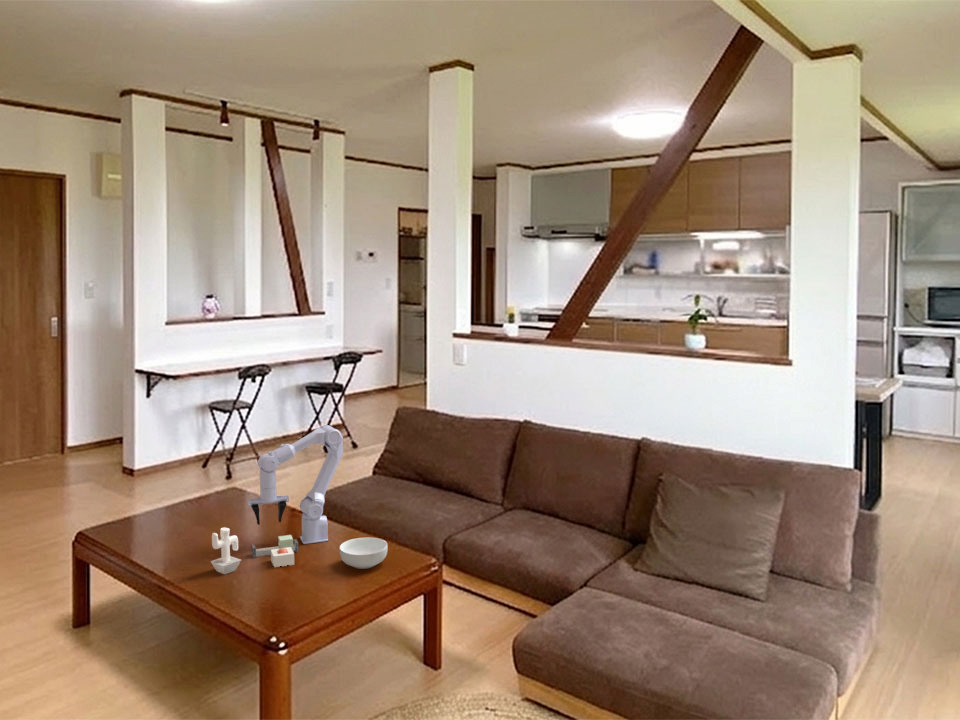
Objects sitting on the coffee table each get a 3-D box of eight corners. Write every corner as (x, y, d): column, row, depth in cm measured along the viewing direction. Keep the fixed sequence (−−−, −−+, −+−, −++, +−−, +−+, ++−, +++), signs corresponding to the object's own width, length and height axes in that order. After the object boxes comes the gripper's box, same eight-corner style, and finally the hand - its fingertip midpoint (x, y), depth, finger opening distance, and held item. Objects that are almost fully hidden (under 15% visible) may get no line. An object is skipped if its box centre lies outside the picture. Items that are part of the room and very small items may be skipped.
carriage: (291, 548, 288) (290, 534, 287) (293, 552, 283) (293, 538, 283) (278, 549, 286) (278, 536, 285) (280, 554, 281) (280, 540, 281)
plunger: (286, 559, 276) (285, 547, 275) (287, 562, 273) (287, 550, 273) (277, 560, 274) (277, 549, 274) (279, 563, 272) (278, 551, 271)
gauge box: (291, 557, 278) (290, 547, 278) (294, 564, 272) (294, 553, 271) (271, 560, 276) (270, 549, 275) (273, 567, 269) (273, 556, 269)
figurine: (244, 569, 268) (243, 527, 266) (220, 577, 260) (219, 534, 258) (231, 564, 272) (230, 522, 270) (207, 572, 264) (206, 529, 263)
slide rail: (296, 548, 288) (296, 539, 288) (298, 551, 284) (298, 542, 284) (251, 554, 282) (251, 544, 281) (253, 558, 278) (253, 548, 278)
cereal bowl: (341, 556, 280) (341, 537, 279) (388, 555, 282) (387, 536, 281) (338, 575, 263) (337, 554, 262) (387, 573, 265) (387, 553, 264)
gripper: (286, 482, 293) (287, 517, 294) (246, 486, 287) (247, 521, 289) (289, 486, 286) (290, 522, 288) (248, 491, 281) (249, 527, 282)
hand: (269, 522), depth 288 cm, fingers open, 7 cm apart
